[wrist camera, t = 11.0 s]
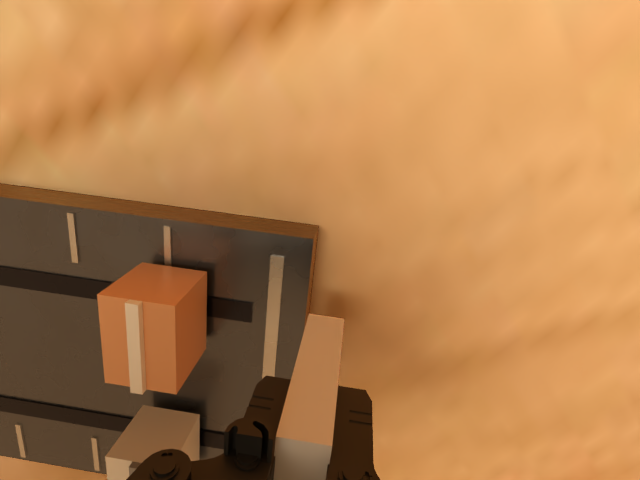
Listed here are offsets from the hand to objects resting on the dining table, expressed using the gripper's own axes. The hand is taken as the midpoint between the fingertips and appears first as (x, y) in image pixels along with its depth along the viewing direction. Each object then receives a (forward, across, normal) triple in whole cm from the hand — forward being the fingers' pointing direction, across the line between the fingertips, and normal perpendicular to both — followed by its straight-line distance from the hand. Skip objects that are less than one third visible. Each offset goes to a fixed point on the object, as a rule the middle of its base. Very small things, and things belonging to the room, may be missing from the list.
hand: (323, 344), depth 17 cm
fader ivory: (+1, -7, -8) cm, 11 cm away
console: (+4, -12, -4) cm, 13 cm away
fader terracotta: (+1, -7, 0) cm, 7 cm away
